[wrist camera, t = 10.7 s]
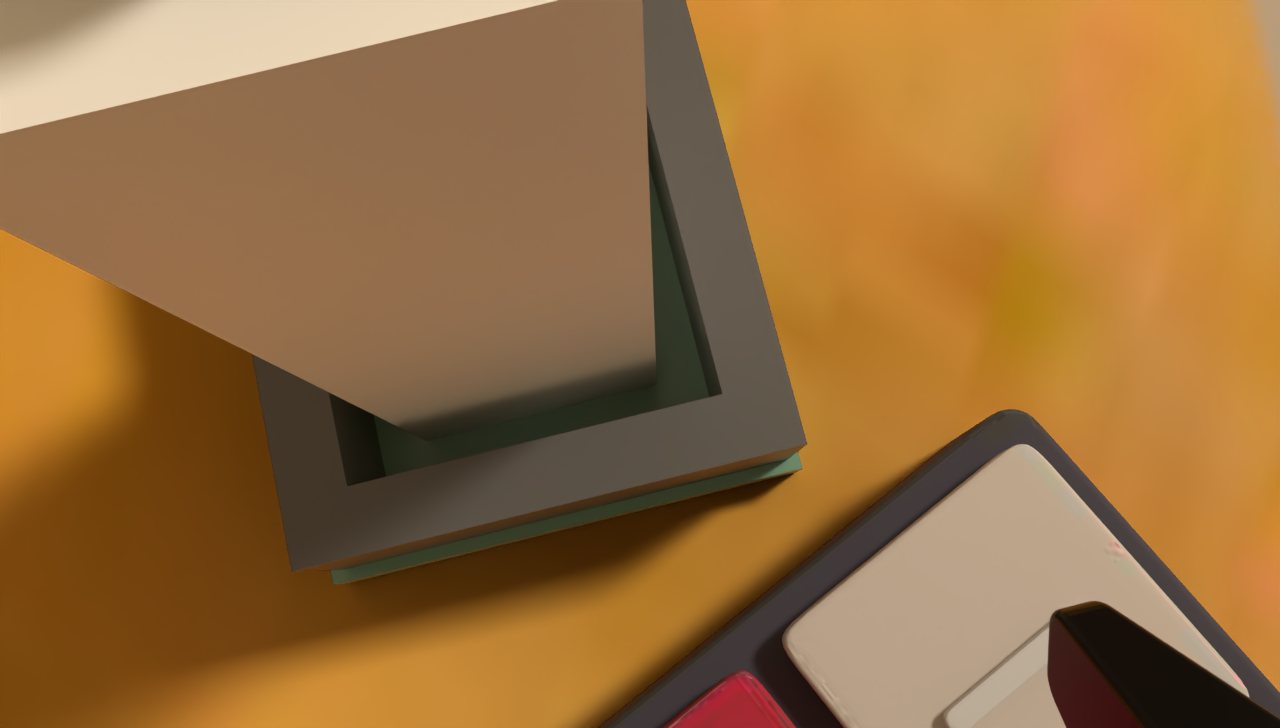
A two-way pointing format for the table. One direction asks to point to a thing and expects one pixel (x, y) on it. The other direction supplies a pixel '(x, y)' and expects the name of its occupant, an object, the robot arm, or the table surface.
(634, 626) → the table surface
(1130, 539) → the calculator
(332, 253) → the plug
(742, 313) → the grey and green tray
